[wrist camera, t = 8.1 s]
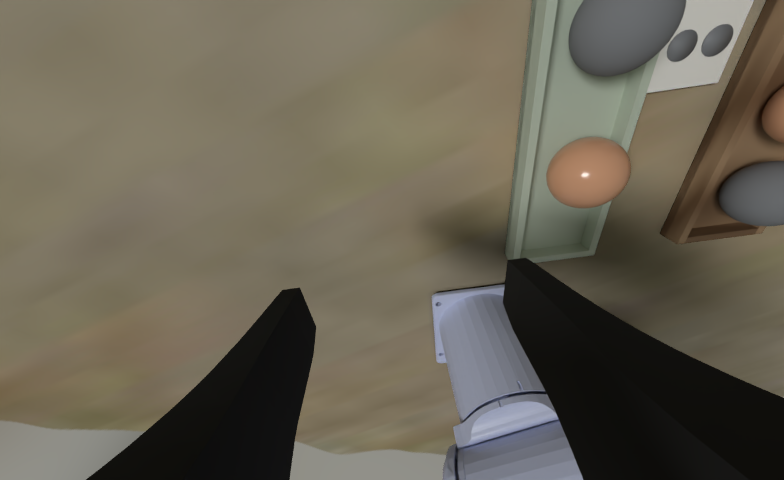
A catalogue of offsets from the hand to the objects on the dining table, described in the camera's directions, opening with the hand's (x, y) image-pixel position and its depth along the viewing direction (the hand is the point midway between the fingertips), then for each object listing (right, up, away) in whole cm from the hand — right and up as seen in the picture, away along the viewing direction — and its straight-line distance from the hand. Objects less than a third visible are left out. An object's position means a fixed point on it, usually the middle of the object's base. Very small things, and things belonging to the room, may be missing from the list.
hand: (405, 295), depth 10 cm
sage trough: (+13, +9, +7) cm, 17 cm away
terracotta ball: (+11, +6, +6) cm, 14 cm away
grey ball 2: (+23, +5, +8) cm, 25 cm away
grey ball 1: (+10, +11, +3) cm, 15 cm away
